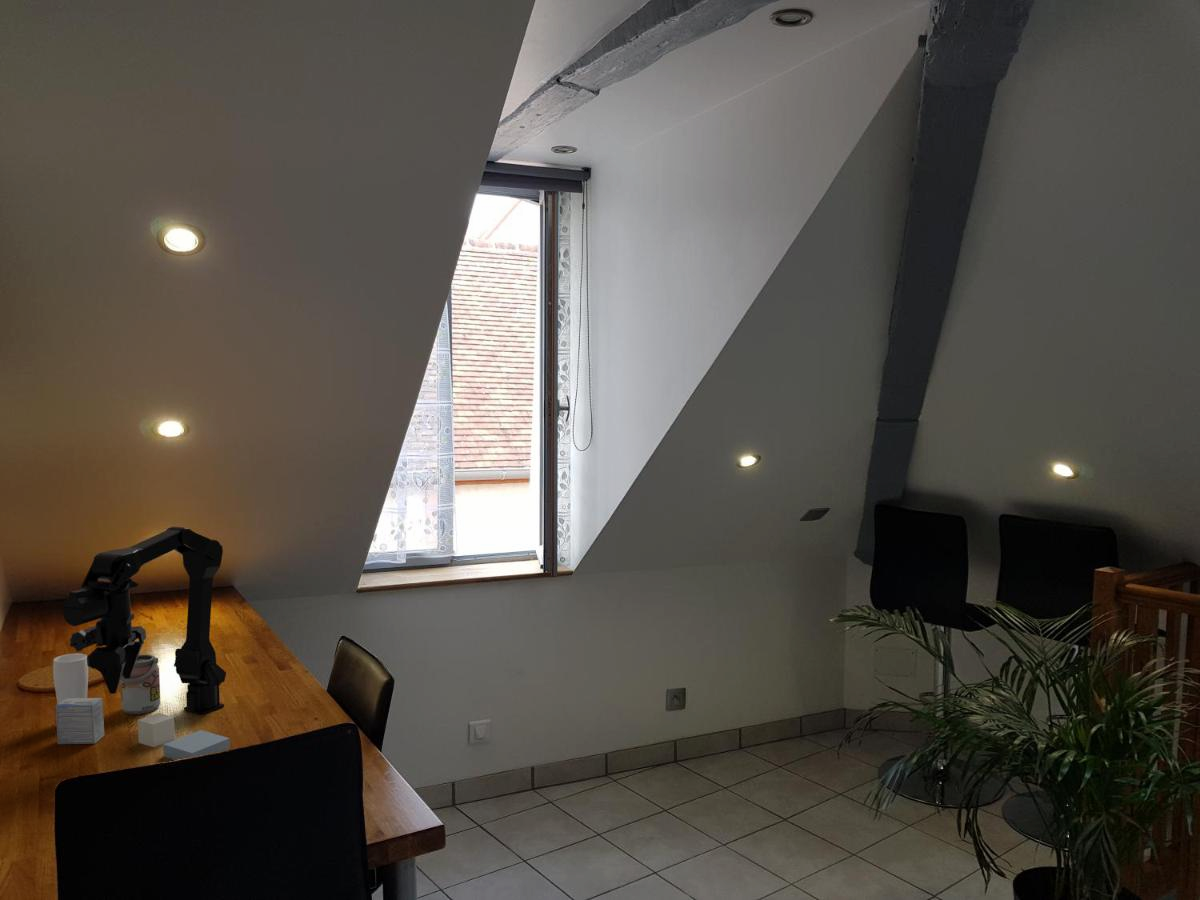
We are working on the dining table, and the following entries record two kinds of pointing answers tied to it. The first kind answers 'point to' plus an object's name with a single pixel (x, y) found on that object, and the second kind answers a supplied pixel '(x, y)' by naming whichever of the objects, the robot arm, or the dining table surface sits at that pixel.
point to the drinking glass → (70, 676)
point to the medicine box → (80, 721)
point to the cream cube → (156, 729)
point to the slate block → (195, 745)
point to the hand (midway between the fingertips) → (120, 685)
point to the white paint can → (141, 686)
